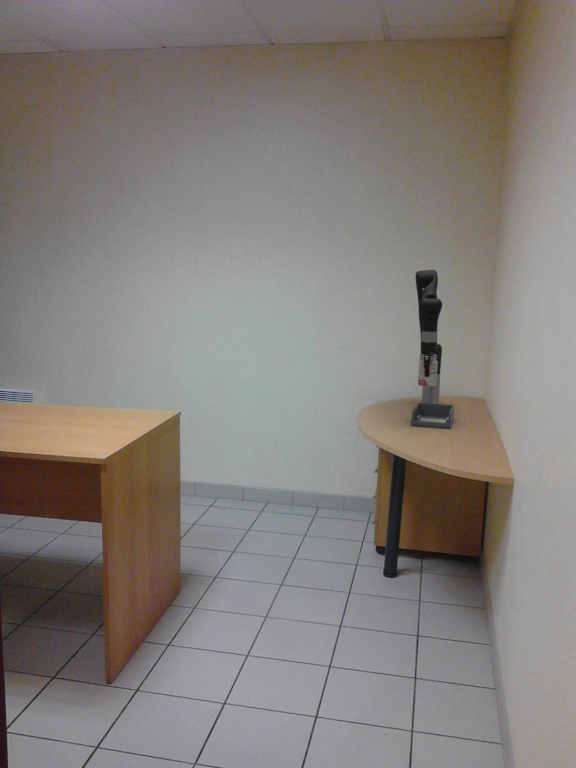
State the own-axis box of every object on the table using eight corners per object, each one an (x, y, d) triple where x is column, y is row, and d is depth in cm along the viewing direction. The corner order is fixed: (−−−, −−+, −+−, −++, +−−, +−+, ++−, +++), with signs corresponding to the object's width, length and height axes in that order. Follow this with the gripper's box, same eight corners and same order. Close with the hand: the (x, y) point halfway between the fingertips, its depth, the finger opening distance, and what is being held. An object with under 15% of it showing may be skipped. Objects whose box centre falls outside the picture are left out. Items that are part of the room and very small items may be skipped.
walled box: (417, 416, 327) (417, 402, 326) (453, 418, 321) (454, 405, 320) (411, 426, 306) (411, 411, 305) (450, 428, 301) (450, 414, 300)
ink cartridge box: (418, 385, 310) (419, 355, 308) (417, 383, 315) (419, 353, 313) (436, 386, 309) (438, 355, 307) (435, 384, 314) (437, 354, 312)
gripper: (423, 339, 317) (422, 373, 319) (418, 341, 303) (417, 377, 306) (439, 339, 314) (437, 374, 317) (435, 342, 301) (433, 378, 304)
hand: (427, 375), depth 312 cm, fingers closed on ink cartridge box, 5 cm apart
